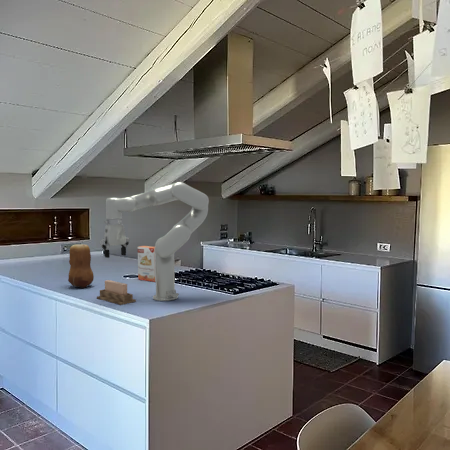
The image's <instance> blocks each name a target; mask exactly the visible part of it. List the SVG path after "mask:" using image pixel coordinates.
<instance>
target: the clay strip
mask: <svg viewBox="0 0 450 450" xmlns="http://www.w3.org/2000/svg"><path fill="white" fill-rule="evenodd" d="M104 289H105V291H107V292H111V293H115V294H119V295H123V296H125V295H127V293H128V283H123V282H119V281H114V280H109V279H108V280H107V279H106V280H104Z"/></svg>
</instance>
